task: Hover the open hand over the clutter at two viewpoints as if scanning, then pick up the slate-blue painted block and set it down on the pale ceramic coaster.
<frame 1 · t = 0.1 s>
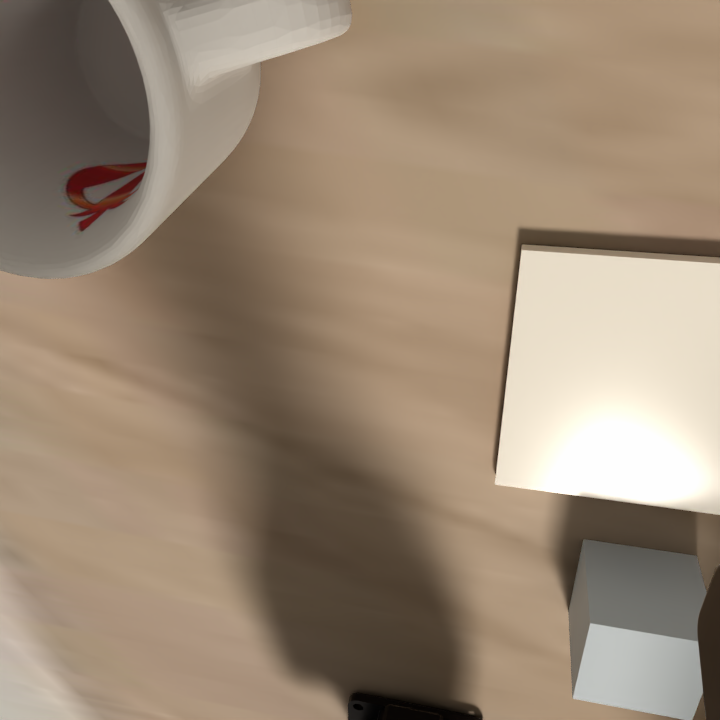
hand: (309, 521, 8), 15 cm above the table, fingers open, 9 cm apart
coaster: (648, 385, 22), on the table
slate block: (629, 583, 27), on the table
cup: (212, 41, 20), on the table
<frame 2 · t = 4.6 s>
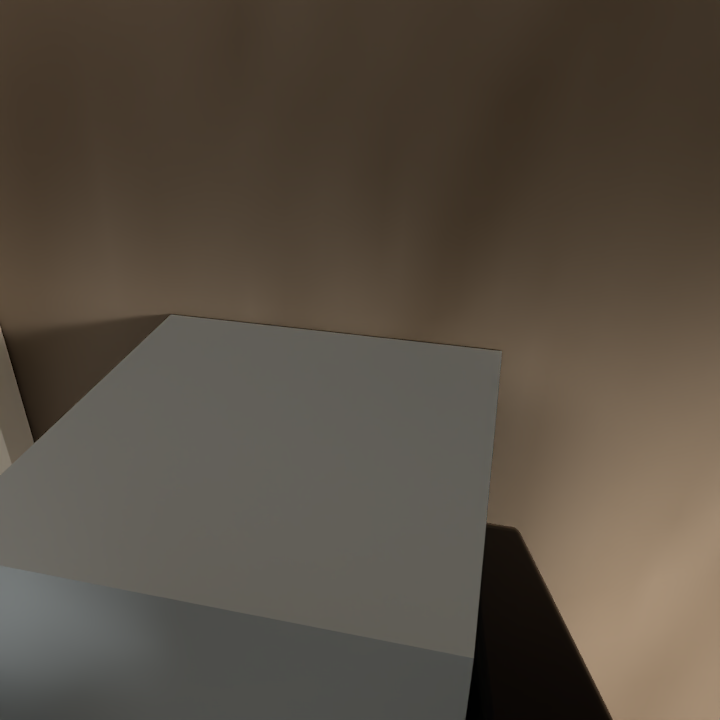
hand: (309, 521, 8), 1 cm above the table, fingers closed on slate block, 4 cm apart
slate block: (331, 466, 9), on the table, touching gripper
when the fingers open (3 cm above the table, at t = 7.5 s): slate block drops 2 cm, resting on coaster.
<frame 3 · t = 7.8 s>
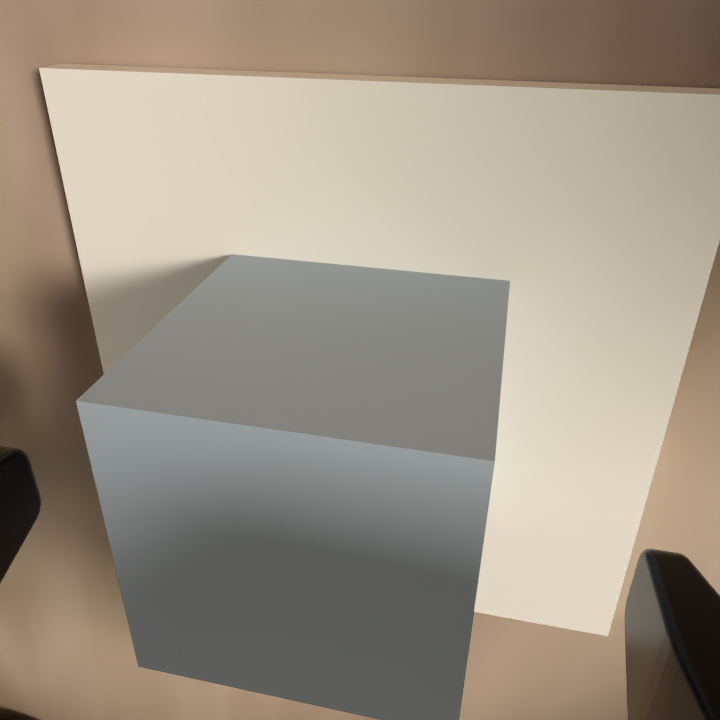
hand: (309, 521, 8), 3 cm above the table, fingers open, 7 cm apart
coaster: (367, 373, 11), on the table
slate block: (363, 387, 11), resting on coaster
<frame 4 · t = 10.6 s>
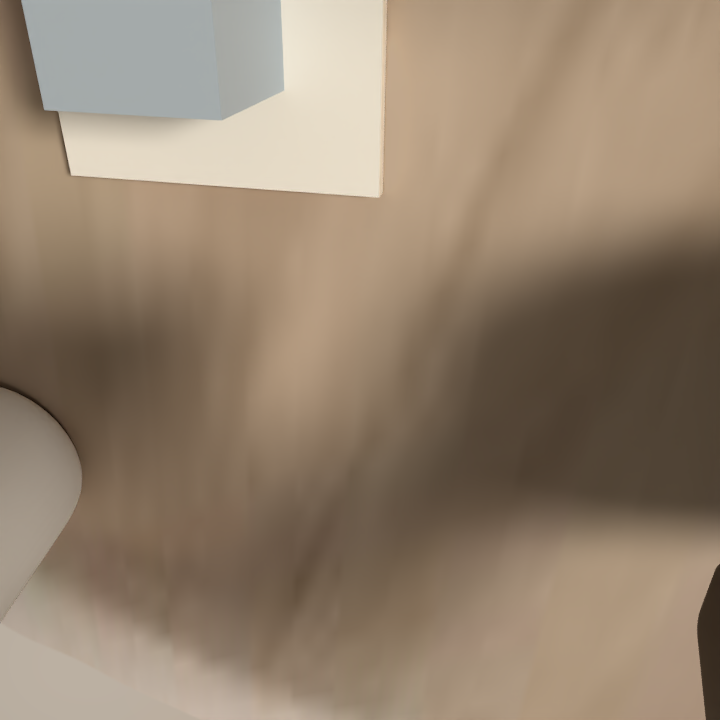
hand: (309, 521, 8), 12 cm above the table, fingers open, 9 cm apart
cup: (4, 411, 26), on the table
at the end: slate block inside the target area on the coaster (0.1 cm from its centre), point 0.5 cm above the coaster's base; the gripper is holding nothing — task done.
